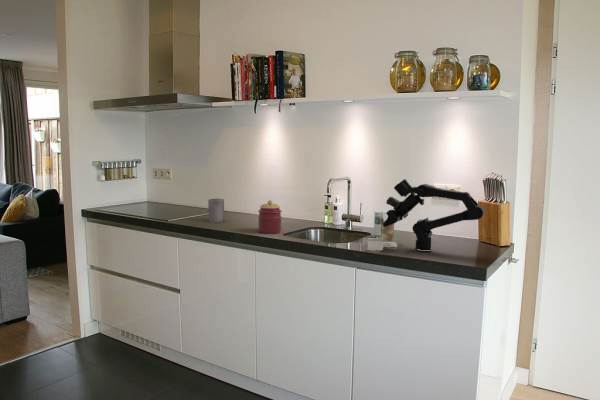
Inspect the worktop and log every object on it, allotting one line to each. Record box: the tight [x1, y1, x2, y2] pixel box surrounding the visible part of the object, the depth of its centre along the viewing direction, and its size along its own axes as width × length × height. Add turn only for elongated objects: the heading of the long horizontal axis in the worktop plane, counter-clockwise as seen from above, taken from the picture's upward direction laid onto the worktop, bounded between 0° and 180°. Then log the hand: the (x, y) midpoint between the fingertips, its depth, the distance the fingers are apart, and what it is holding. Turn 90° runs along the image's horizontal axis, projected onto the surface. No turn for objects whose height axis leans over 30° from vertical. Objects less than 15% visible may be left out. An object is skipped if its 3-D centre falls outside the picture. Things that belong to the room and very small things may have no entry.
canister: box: [257, 200, 282, 235], centre depth 257 cm, size 13×13×18 cm
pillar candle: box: [207, 198, 225, 223], centre depth 289 cm, size 10×10×15 cm
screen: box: [367, 237, 384, 251], centre depth 214 cm, size 7×2×6 cm, turn 82°
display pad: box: [383, 241, 398, 248], centre depth 225 cm, size 9×9×1 cm
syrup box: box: [373, 209, 389, 238], centre depth 244 cm, size 6×6×14 cm
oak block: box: [381, 221, 395, 242], centre depth 224 cm, size 5×5×9 cm
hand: (385, 225), depth 224 cm, fingers closed on oak block, 5 cm apart
